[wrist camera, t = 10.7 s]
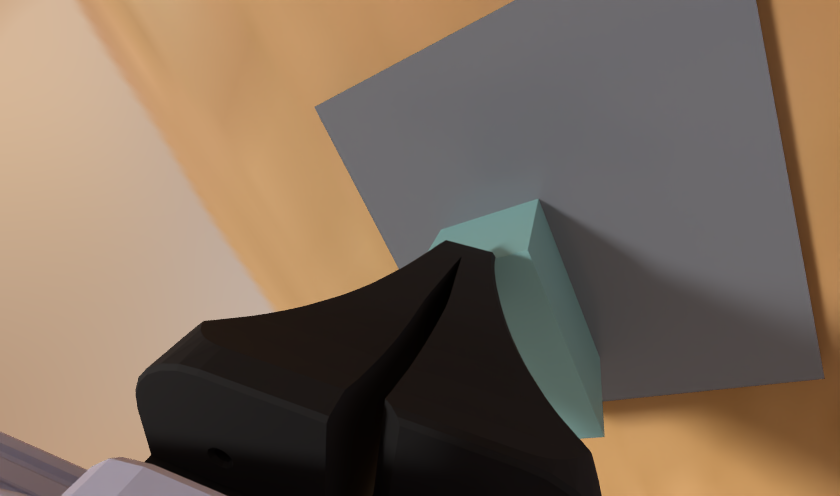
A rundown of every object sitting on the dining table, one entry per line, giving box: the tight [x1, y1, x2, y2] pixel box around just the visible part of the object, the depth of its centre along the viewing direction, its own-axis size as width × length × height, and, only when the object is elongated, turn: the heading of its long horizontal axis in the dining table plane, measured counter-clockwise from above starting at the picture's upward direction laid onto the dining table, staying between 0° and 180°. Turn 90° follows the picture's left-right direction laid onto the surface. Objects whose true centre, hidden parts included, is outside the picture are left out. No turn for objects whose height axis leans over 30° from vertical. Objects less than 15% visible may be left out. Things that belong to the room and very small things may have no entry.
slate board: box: [315, 0, 825, 401], centre depth 15 cm, size 14×12×1 cm
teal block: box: [428, 199, 604, 439], centre depth 14 cm, size 4×4×6 cm
